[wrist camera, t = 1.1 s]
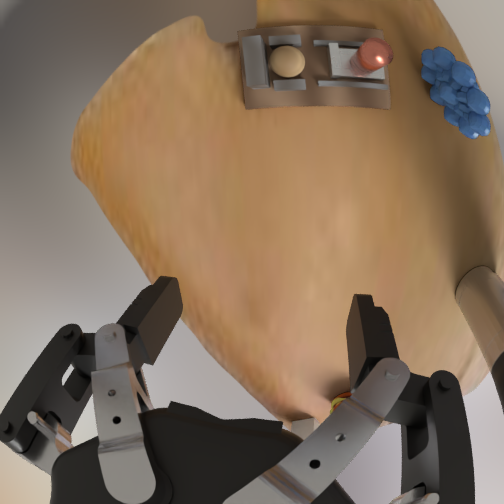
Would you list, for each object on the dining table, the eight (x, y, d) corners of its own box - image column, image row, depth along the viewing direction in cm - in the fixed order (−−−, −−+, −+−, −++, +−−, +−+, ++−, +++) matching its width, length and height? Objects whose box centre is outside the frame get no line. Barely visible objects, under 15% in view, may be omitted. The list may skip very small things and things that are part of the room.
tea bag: (292, 421, 65) (288, 451, 57) (314, 417, 63) (311, 448, 54) (297, 426, 67) (294, 455, 58) (319, 422, 64) (317, 452, 55)
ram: (379, 52, 23) (399, 36, 16) (382, 81, 25) (404, 73, 18) (326, 48, 24) (333, 29, 17) (330, 78, 26) (338, 67, 19)
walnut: (303, 49, 25) (303, 41, 22) (306, 78, 27) (306, 74, 24) (270, 51, 26) (265, 43, 23) (273, 80, 28) (269, 75, 25)
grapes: (470, 124, 25) (521, 136, 15) (436, 137, 28) (484, 153, 18) (437, 48, 21) (483, 32, 11) (400, 58, 24) (439, 39, 14)
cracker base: (379, 32, 23) (392, 19, 18) (387, 109, 28) (402, 109, 23) (240, 34, 26) (228, 20, 21) (248, 109, 32) (237, 108, 26)
